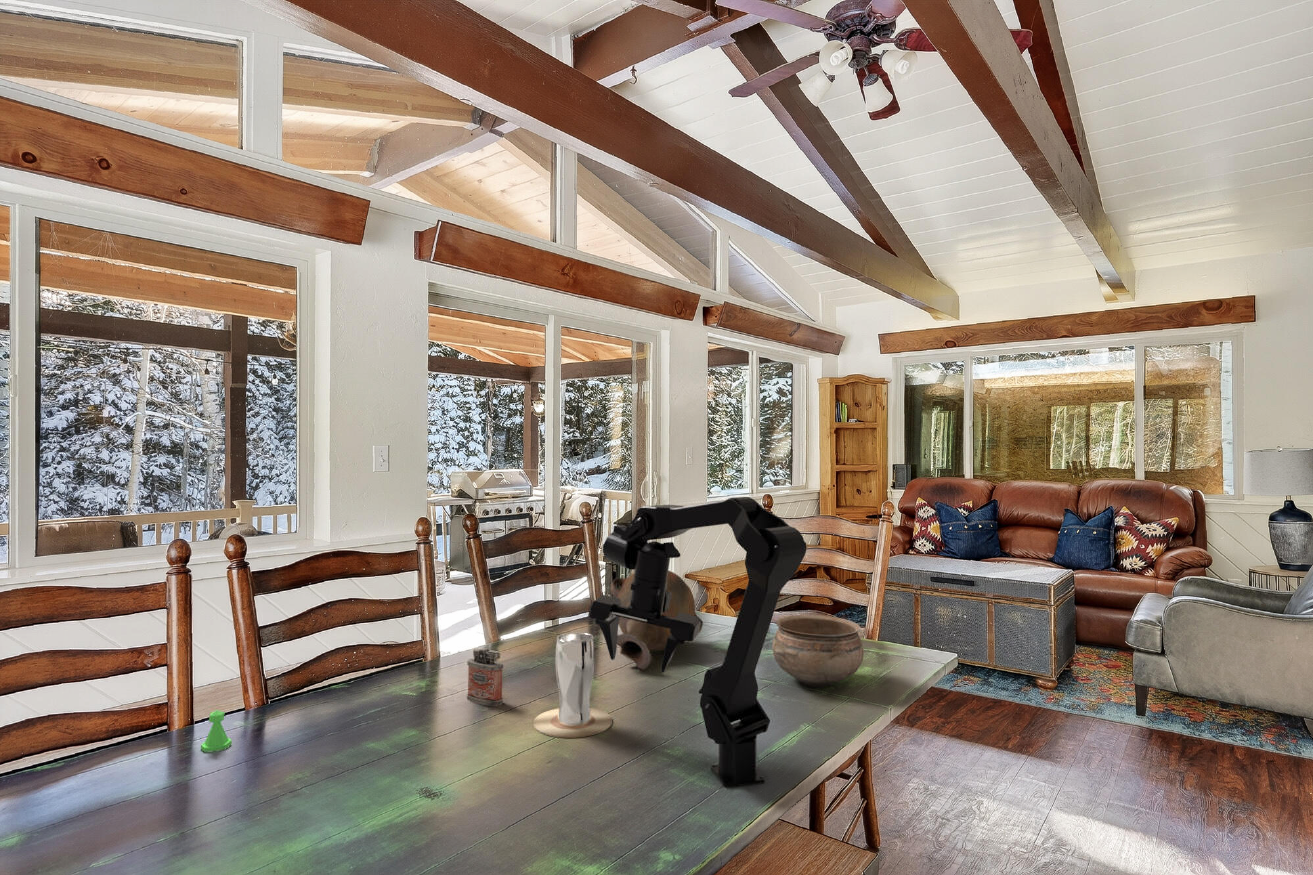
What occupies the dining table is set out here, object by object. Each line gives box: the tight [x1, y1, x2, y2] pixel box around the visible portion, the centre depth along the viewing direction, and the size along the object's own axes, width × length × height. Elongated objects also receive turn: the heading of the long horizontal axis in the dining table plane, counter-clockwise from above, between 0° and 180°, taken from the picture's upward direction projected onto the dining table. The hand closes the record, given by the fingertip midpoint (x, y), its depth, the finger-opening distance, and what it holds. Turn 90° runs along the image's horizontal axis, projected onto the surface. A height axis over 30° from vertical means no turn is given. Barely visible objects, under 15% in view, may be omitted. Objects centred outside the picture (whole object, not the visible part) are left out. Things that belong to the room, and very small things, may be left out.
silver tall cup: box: [554, 631, 595, 727], centre depth 131 cm, size 7×7×15 cm
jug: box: [609, 569, 704, 670], centre depth 175 cm, size 20×20×30 cm
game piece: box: [200, 709, 233, 753], centre depth 119 cm, size 4×4×6 cm
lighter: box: [466, 647, 504, 707], centre depth 141 cm, size 8×3×10 cm, turn 62°
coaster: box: [532, 707, 613, 739], centre depth 131 cm, size 14×14×1 cm
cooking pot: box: [772, 614, 865, 688], centre depth 155 cm, size 25×19×12 cm
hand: (637, 665), depth 126 cm, fingers open, 9 cm apart
